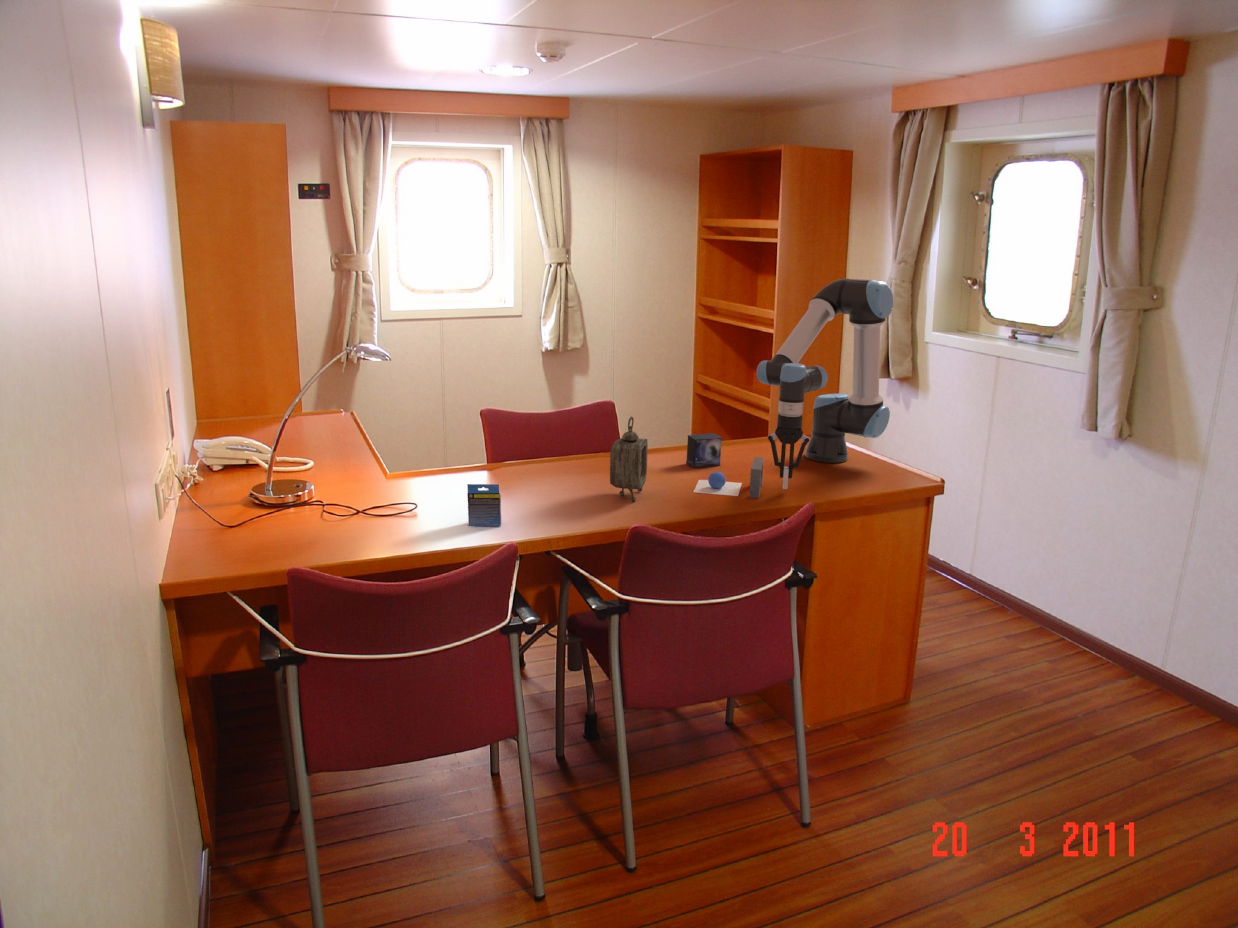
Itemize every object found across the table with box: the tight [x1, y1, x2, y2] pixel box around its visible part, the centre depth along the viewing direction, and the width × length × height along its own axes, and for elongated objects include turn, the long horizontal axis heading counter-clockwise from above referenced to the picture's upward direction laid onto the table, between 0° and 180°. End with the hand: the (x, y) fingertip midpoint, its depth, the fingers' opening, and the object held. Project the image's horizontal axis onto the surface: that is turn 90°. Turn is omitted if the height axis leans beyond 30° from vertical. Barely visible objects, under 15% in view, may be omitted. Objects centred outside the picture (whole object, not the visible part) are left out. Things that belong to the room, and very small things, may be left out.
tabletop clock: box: [609, 416, 648, 503], centre depth 272 cm, size 14×9×25 cm, turn 168°
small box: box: [685, 432, 723, 469], centre depth 310 cm, size 11×6×10 cm, turn 112°
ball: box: [707, 471, 727, 489], centre depth 284 cm, size 6×6×6 cm
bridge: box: [748, 456, 765, 499], centre depth 281 cm, size 3×14×9 cm, turn 168°
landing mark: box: [692, 479, 743, 497], centre depth 285 cm, size 14×14×1 cm
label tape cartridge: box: [466, 483, 502, 527], centre depth 246 cm, size 9×4×12 cm, turn 92°
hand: (785, 487), depth 280 cm, fingers closed
